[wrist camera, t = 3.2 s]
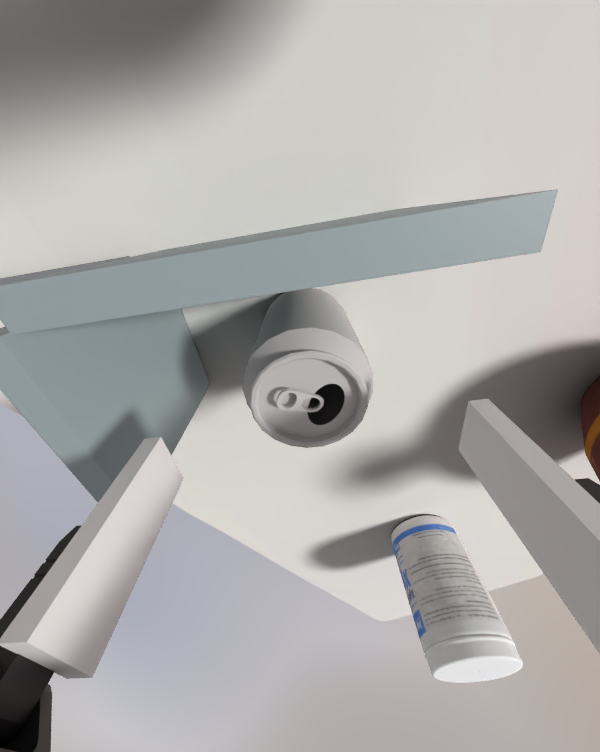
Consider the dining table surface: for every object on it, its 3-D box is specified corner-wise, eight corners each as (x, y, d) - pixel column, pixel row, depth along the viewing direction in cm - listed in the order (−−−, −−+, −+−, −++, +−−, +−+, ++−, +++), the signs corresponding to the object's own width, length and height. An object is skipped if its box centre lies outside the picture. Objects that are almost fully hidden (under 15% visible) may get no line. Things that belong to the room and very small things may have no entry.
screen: (139, 254, 21) (-78, 299, 9) (397, 209, 19) (558, 189, 7) (195, 386, 27) (111, 518, 15) (393, 360, 26) (475, 484, 14)
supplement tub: (377, 529, 40) (413, 671, 28) (434, 503, 37) (504, 650, 24) (410, 554, 44) (454, 689, 31) (464, 532, 41) (539, 673, 28)
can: (327, 373, 26) (345, 470, 16) (254, 350, 25) (223, 440, 15) (360, 302, 23) (410, 369, 13) (277, 271, 22) (256, 318, 11)
